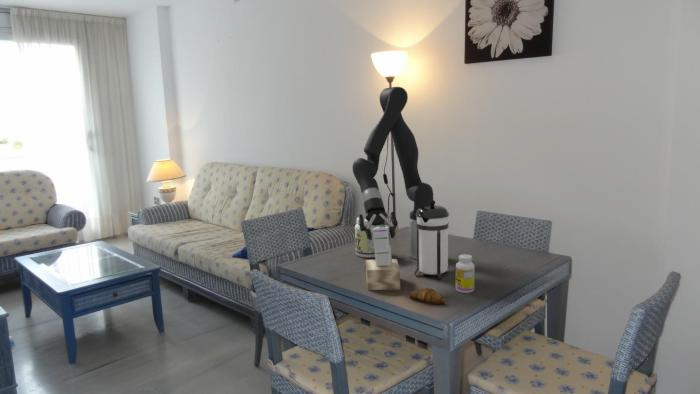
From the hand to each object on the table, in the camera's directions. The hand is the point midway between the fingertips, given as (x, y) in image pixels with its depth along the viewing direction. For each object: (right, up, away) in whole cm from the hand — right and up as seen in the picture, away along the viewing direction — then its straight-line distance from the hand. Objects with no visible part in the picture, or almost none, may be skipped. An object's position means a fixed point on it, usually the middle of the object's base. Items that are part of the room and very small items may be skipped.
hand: (381, 238), depth 187 cm
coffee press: (+21, -15, +15) cm, 30 cm away
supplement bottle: (+30, -19, -4) cm, 35 cm away
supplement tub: (-3, -11, +42) cm, 44 cm away
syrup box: (+1, -10, +4) cm, 11 cm away
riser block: (+1, -18, +5) cm, 19 cm away
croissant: (+15, -21, -13) cm, 29 cm away
